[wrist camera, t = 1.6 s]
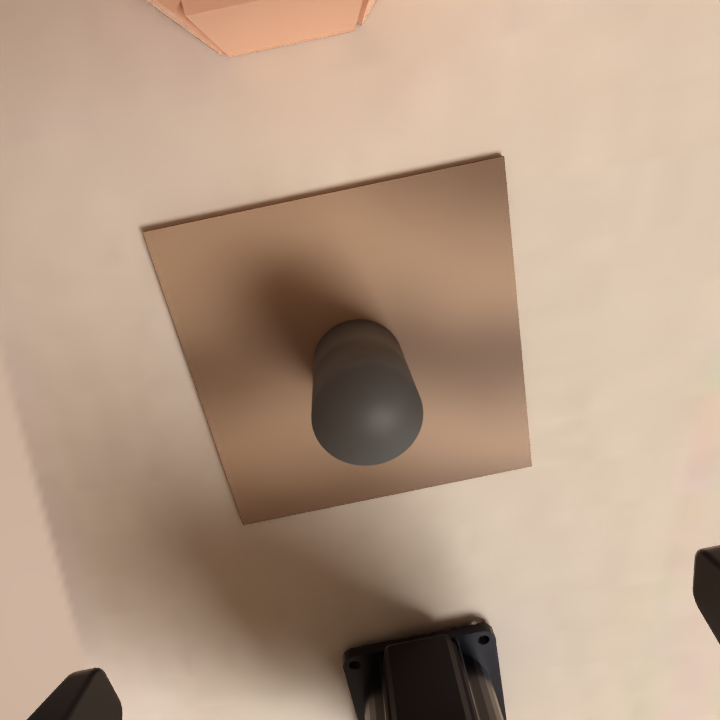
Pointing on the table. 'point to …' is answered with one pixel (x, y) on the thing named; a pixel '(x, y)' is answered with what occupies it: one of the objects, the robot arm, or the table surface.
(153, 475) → the table surface
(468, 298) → the lid
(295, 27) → the bowl
